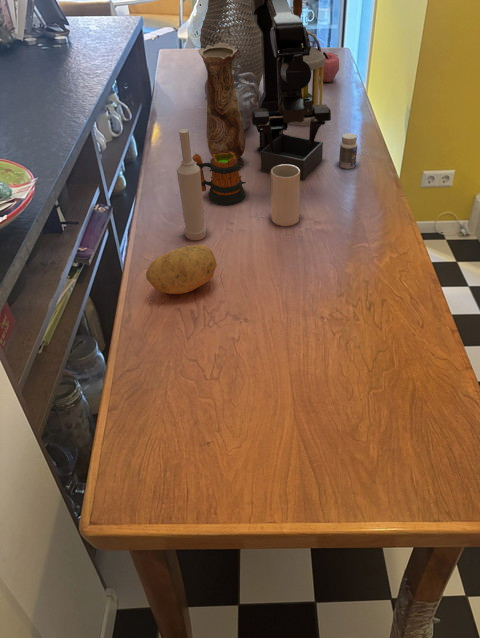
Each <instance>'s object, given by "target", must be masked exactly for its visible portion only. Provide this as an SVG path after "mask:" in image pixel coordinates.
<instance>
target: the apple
mask: <svg viewBox="0 0 480 638" xmlns="http://www.w3.org/2000/svg"><path fill="white" fill-rule="evenodd" d="M322 53H323V54H324V56H325V64H324V70H323V83H330V82H333V81H334V79H335V77H336V75H337V74H338V72H339V70H340V59H339V56H338V55H339V54H336V53H332V52H325V51H323V52H322ZM320 73H321V67H320V68H319V78H320Z"/></svg>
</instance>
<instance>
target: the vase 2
mask: <svg viewBox="0 0 480 638" xmlns="http://www.w3.org/2000/svg"><path fill="white" fill-rule="evenodd" d="M197 52H198V53H199V55H200V57H201V58H202V61H203V60H204V61H205V63H206V65H207V70H206V75H207V76H206V77H207V79H206V80H207V81H208V85H207V100H206V142H207V147H208V151H209V154H210V156H211V157H212V156H213V154H220V153H228V152H229V151H230V152H233V153H234V154H235V156H236V159H239V160H238V162H239V163H242V164H244V163H245V162H244V160H243V158H242V156H243V155H244V154H245V150H246V135H245V130H244V128H243V123H242V118H241V114H240V109H239V104H238V100H237V95H236V91H235V85H234V80H233V74H232V62H233V59H234V57H235V54H236V52H237V49H235V47H234V46H232V47H229V45H227V44H224V43H218V44H215V46H214V47H212V46H210V45H208V46H207V47H206V49H204V48H201V47H200V48H199V49H198V51H197ZM204 61H203V62H204ZM244 165H245V164H244ZM244 165H242V166H240V167H239V169H241V167H243V166H244Z"/></svg>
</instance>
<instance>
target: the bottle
mask: <svg viewBox="0 0 480 638" xmlns="http://www.w3.org/2000/svg"><path fill="white" fill-rule="evenodd" d="M178 135H179V143H180V149H181V159H182V160H181V162H180V165H179V166H177V168H176V175H177V181H178V190H179V194H180V195H179V196H180V201H181V208H182V215H183V222H184V228H183V230H184V234H185V237H186V238H187V239H188V240H191V241H200V240H202V239H204V238H205V237H206V236H207V226H206V223H205V213H204V211H205V210H204V199H203V191H202V185H201V173H200V167H199V166H197V165H196V162H195V161H194V160H193V159H192V158H193V156H192V151H191V142H190V141H191V140H190V131H189V129H188V128H181V129H179V130H178Z"/></svg>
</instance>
